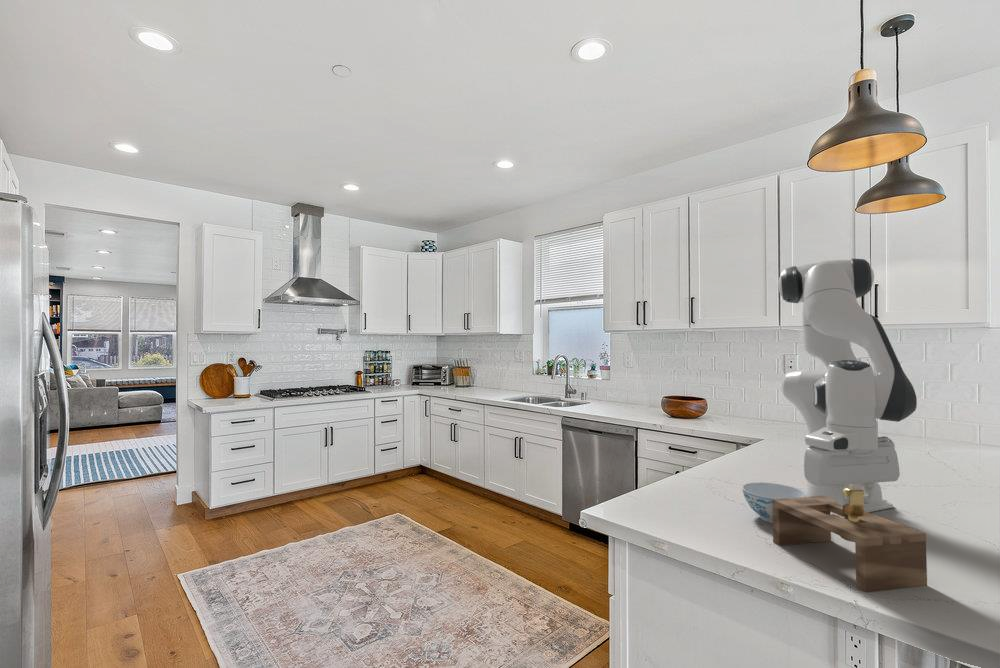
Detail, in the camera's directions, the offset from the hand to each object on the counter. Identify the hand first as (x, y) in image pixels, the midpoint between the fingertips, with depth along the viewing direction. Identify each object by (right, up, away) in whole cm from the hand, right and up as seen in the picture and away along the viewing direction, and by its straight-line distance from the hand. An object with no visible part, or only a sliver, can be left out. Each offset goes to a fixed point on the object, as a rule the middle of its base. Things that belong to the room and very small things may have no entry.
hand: (853, 504), depth 102 cm
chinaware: (-1, -14, +28) cm, 31 cm away
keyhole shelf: (0, -13, +3) cm, 14 cm away
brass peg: (0, -7, 0) cm, 7 cm away
